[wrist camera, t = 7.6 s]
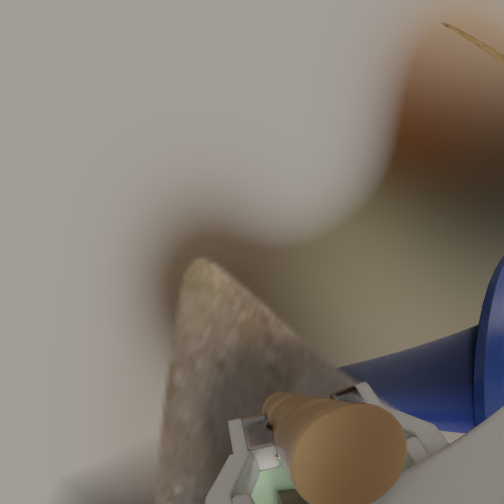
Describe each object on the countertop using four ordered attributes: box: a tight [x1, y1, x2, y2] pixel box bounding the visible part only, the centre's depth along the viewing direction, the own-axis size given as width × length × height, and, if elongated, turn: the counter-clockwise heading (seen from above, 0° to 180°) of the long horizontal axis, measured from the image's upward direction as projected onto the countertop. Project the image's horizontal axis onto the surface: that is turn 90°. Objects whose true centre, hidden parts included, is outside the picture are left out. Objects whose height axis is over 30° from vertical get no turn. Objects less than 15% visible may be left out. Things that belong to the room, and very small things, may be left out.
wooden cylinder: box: [262, 392, 407, 504], centre depth 11 cm, size 3×3×14 cm
